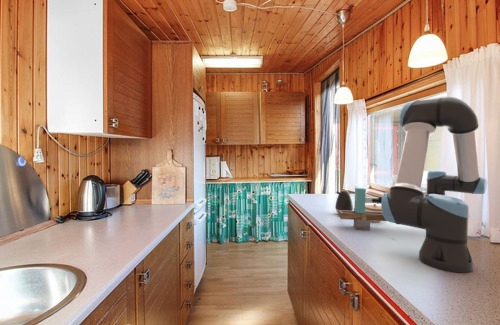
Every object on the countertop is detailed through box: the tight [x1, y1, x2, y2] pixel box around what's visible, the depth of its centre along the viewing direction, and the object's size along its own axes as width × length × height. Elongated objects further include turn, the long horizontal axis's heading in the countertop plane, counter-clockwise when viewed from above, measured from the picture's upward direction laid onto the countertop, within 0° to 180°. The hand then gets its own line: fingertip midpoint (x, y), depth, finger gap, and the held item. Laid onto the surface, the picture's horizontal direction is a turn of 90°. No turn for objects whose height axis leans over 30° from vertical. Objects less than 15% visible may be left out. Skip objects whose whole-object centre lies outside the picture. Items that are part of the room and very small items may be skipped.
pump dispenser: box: [334, 189, 354, 214], centre depth 162 cm, size 10×10×15 cm
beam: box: [337, 210, 388, 231], centre depth 133 cm, size 7×22×8 cm, turn 84°
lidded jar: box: [365, 203, 382, 223], centre depth 149 cm, size 11×11×9 cm
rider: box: [353, 187, 367, 213], centre depth 133 cm, size 6×4×15 cm, turn 174°
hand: (364, 199), depth 133 cm, fingers closed
